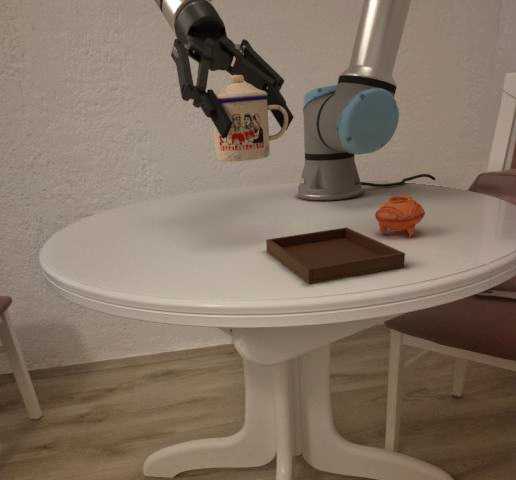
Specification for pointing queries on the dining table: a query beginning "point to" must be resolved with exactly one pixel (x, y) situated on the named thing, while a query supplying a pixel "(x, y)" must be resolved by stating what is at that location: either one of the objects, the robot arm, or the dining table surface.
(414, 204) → the pot
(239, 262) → the dining table surface
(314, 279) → the shallow tray
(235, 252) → the dining table surface
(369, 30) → the robot arm
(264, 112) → the teacup with lid
